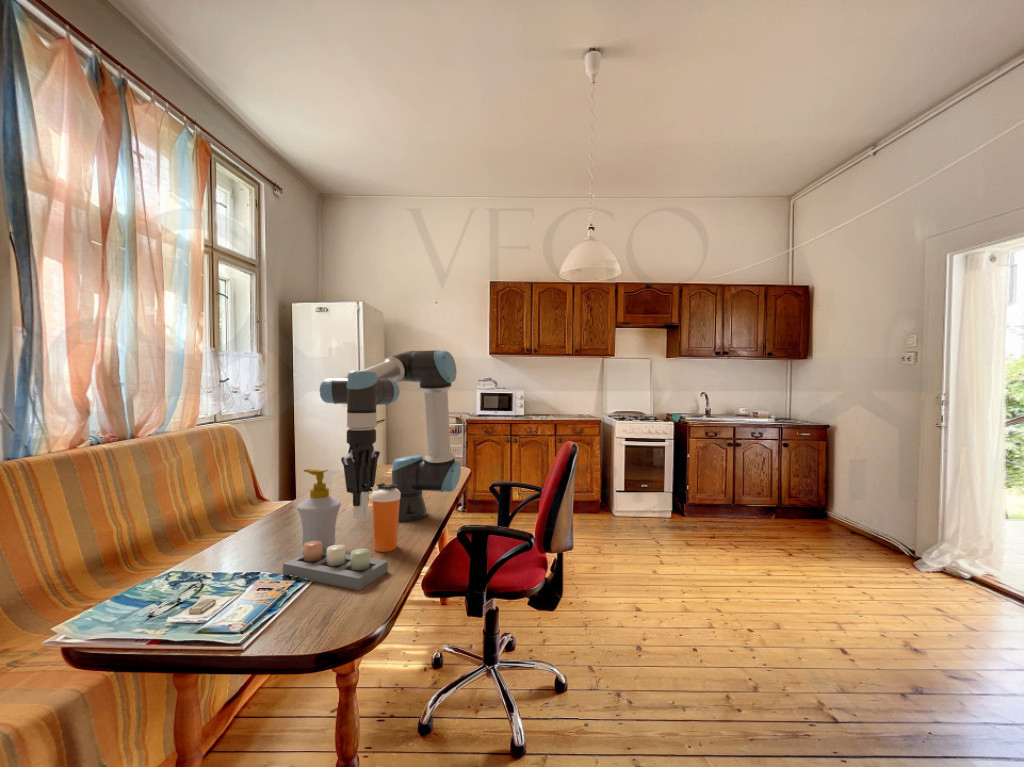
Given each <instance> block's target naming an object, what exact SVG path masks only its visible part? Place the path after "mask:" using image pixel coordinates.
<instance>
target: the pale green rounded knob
mask: <svg viewBox="0 0 1024 767" xmlns="http://www.w3.org/2000/svg"><path fill="white" fill-rule="evenodd" d="M370 552H371V551H370V549H368V548H357V549H354V550H351V551H350V555H351V569H352V570H364V569H367V568H368V567H369V566H370V558H371V556H370V554H371V553H370Z"/></svg>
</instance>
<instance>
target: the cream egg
mask: <svg viewBox="0 0 1024 767" xmlns="http://www.w3.org/2000/svg"><path fill="white" fill-rule="evenodd" d="M345 554H346V545H345V544H334V545H332V546H329V547H328V548H327V565H329V566H337V565H341V564H343V563H345Z"/></svg>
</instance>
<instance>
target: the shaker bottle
mask: <svg viewBox="0 0 1024 767" xmlns="http://www.w3.org/2000/svg"><path fill="white" fill-rule="evenodd" d="M396 487H397V485H395V484H392V483H389V484H386V483H385V482H382V483H378V484H374V487H372V493H371V495H370V496H371V498H370V500H371V501H372V502H371V507H372V510H371V511H372V532H373V533H372V534H373V535H372V536H373V550H374V551H375V552H377V553H378V552H379V553H386V552H392V551H394V550H396V549H397V548H398V535H399V522H400V521H399V503H400V494H401V493H400V491H399V490H398V489H396Z"/></svg>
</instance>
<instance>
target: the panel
mask: <svg viewBox="0 0 1024 767" xmlns="http://www.w3.org/2000/svg"><path fill="white" fill-rule="evenodd" d="M388 564H389V561H388V560H385V559H383V560H382V559H379V558H373V557H370V566H369V567H368V568H367V569H364V570H352V569H351V553H345V563H343V564H341V565H337V566H329V565H327V550H322V558H321V559H320V560H317V561H311V562H308V561H304V553H303V554H301V555H299V556H297V557H295V558H293V559H291V560H288V561H286V562H284V563H282V575H283V576H287V575H292V576H297V577H302V578H307V579H309V580H308V581H311V582H317V583H322V584H327V585H331V586H336V587H341V588H346V589H350V590H355V591H360V590H362V589H364V588H365V587H367V586H368V585H370V584H371V583H372V582H374V581H376V580H377V579H380V578H381V577H382V576H383V575H386V574H387V573H388V572H389V570H388V569H389V567H388V566H389V565H388Z"/></svg>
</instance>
